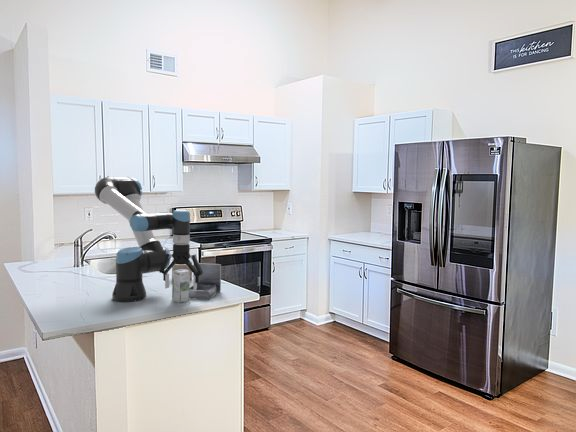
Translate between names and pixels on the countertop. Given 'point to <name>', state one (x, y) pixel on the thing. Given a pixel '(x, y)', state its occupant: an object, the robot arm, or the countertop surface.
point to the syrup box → (180, 285)
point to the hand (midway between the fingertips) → (181, 288)
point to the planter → (181, 266)
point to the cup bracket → (207, 282)
